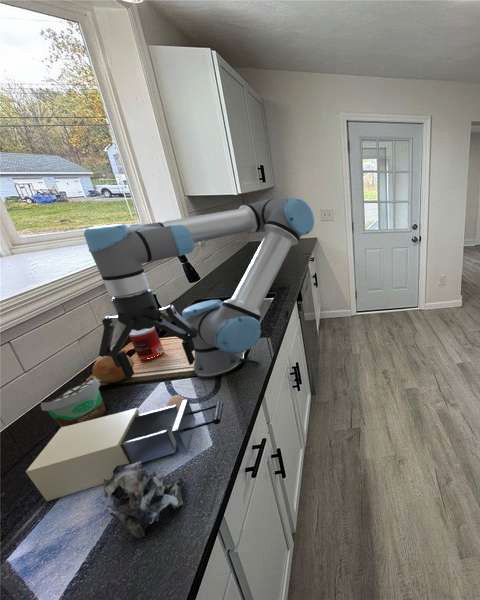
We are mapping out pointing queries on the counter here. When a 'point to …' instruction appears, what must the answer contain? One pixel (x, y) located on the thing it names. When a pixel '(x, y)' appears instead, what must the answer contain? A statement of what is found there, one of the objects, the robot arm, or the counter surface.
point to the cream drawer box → (81, 455)
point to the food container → (77, 404)
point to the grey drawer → (163, 431)
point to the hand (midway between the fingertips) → (162, 368)
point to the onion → (109, 369)
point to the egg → (175, 401)
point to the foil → (140, 496)
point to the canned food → (146, 343)
